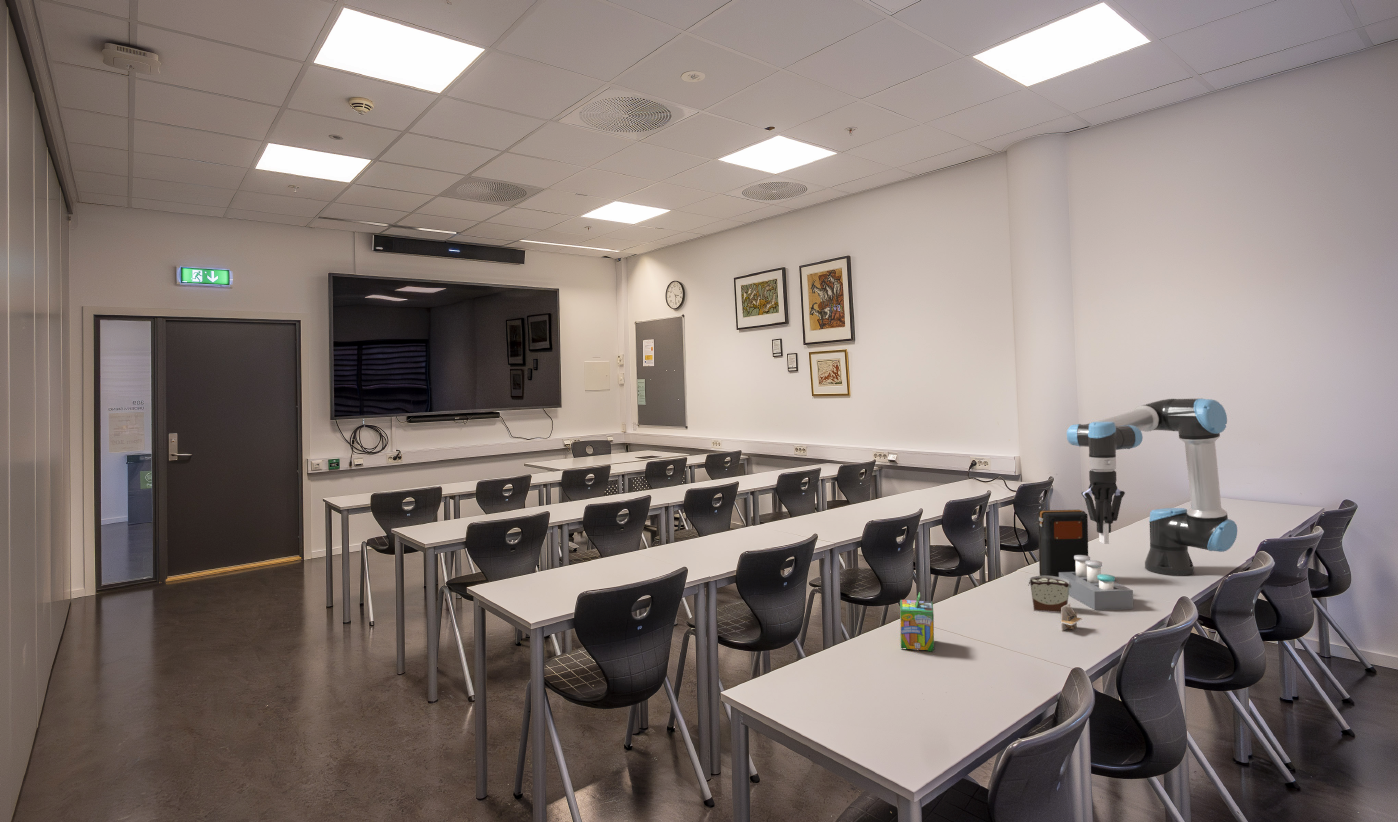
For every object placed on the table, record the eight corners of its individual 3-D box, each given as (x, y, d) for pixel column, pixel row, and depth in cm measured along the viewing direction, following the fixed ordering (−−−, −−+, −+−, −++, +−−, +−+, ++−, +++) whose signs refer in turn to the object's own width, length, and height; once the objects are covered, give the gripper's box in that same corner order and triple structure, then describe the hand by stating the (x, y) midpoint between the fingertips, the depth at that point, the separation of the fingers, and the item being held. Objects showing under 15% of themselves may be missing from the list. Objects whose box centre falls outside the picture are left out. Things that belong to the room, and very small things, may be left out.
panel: (1093, 588, 238) (1093, 571, 238) (1133, 608, 216) (1132, 590, 216) (1059, 589, 238) (1058, 572, 238) (1094, 610, 216) (1094, 591, 216)
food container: (1068, 606, 221) (1067, 576, 220) (1072, 613, 215) (1071, 581, 214) (1026, 604, 225) (1025, 574, 224) (1028, 610, 219) (1028, 579, 218)
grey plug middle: (1097, 583, 230) (1096, 559, 229) (1105, 587, 225) (1105, 563, 224) (1082, 583, 230) (1082, 560, 229) (1090, 588, 225) (1090, 564, 225)
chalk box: (900, 638, 200) (898, 587, 200) (933, 640, 197) (932, 589, 197) (900, 650, 191) (898, 597, 191) (935, 652, 189) (933, 599, 188)
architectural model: (1082, 630, 201) (1081, 605, 201) (1071, 636, 197) (1071, 611, 197) (1070, 627, 204) (1069, 602, 204) (1059, 633, 200) (1059, 608, 199)
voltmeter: (1081, 575, 254) (1080, 508, 253) (1092, 582, 245) (1091, 512, 244) (1037, 575, 255) (1035, 509, 254) (1046, 582, 247) (1045, 513, 246)
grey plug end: (1085, 577, 237) (1085, 554, 236) (1093, 581, 232) (1093, 558, 231) (1071, 578, 237) (1071, 555, 236) (1079, 582, 232) (1078, 558, 232)
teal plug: (1109, 598, 223) (1109, 573, 222) (1118, 602, 218) (1118, 578, 218) (1094, 598, 223) (1094, 574, 222) (1103, 603, 218) (1102, 578, 218)
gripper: (1088, 472, 216) (1090, 546, 217) (1130, 470, 216) (1131, 544, 217) (1075, 469, 223) (1077, 540, 224) (1115, 467, 223) (1117, 539, 224)
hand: (1104, 542), depth 221 cm, fingers closed
